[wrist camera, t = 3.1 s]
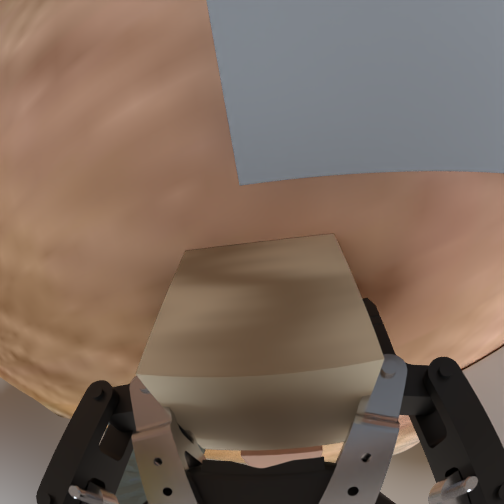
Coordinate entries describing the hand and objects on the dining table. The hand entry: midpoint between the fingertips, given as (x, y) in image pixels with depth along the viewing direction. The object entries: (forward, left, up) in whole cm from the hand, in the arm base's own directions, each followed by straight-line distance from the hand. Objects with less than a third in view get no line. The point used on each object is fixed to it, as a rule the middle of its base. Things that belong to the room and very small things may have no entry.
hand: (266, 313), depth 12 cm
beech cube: (0, 0, -1) cm, 1 cm away
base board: (+8, +14, -1) cm, 16 cm away
